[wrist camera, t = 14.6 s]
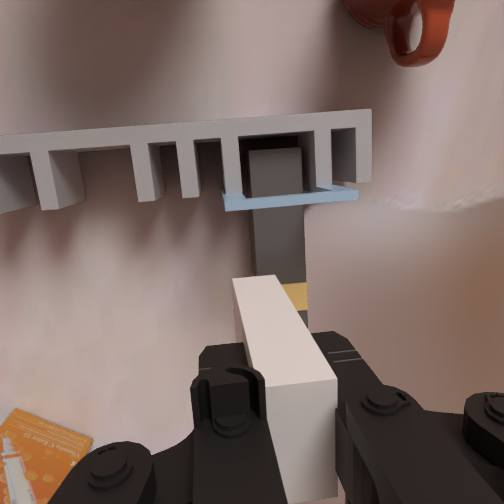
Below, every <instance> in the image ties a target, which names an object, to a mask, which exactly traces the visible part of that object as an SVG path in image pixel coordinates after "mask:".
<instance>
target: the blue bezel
mask: <svg viewBox="0 0 504 504" xmlns="http://www.w3.org/2000/svg"><path fill="white" fill-rule="evenodd" d="M302 184H303V190H305V191H308V192H311V193H303V194H291V195H280V196H269V197H257V198H246V197H245V196H244V195H243V194H242V193H238V194H227V195H226V193H225V190H224V189H221V193H222V199H223V203H224V207H225V212H226V211H237V210H248V209H259V208H270V207H281V206H292V205H303V204H314V203H326V202H337V201H348V200H359V190H357V189H352V188H347V187H343V186H338V185H333V184H332V185H330V186H318V187H316V186H312V185H308V184H304V183H302Z"/></svg>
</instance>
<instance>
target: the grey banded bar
mask: <svg viewBox="0 0 504 504" xmlns="http://www.w3.org/2000/svg"><path fill="white" fill-rule="evenodd" d="M244 156H245V170H246V184H247V198H257V197H269V196H280V195H291V194H303V184H302V158H301V147H295V148H280V149H266V150H251V151H245V152H244ZM248 213H249V227H250V241H251V255H252V269H253V272H252V277H255V276H266V275H275V276H276V277H277V279H278V281H279V282H280V284H281V286H282V287H283V289H284V291H285V292H286V294H287V296H288V297H289V299H290V301H291V302H292V304H293V306H294V307H295V309H296V311H297V312H298V314H299V316H300V317H301V319H302V320H303V322H304V324H305V325H306V327H307V329H308V317H307V310H308V295H307V282H306V264H305V237H304V211H303V205H292V206H281V207H270V208H259V209H248Z"/></svg>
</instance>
